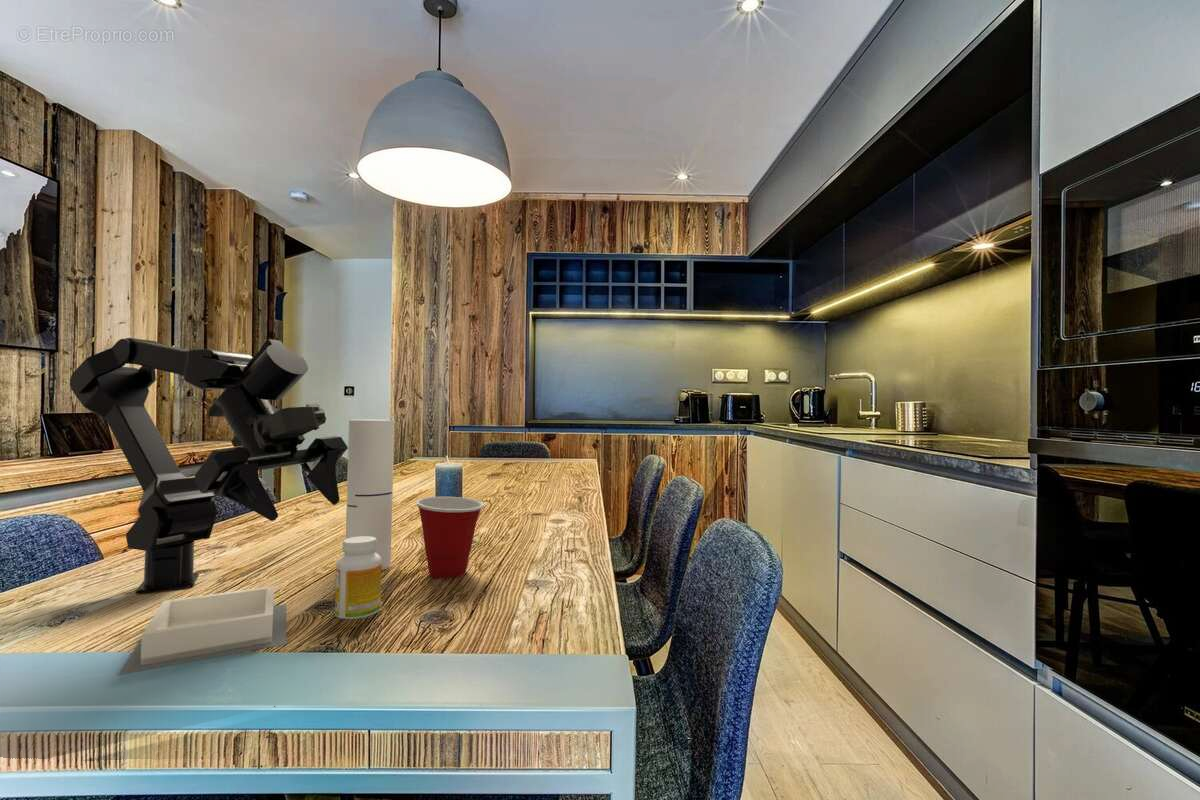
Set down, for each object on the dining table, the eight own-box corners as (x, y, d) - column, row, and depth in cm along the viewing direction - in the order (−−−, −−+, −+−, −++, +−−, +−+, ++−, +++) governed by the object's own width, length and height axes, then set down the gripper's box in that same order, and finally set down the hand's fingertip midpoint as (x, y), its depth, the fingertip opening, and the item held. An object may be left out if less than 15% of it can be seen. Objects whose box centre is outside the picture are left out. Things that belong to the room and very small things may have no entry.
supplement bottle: (389, 610, 70) (391, 536, 70) (358, 625, 65) (360, 545, 65) (357, 604, 71) (359, 533, 72) (324, 619, 66) (327, 541, 67)
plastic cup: (464, 586, 80) (466, 507, 80) (400, 581, 82) (402, 503, 82) (493, 566, 90) (494, 496, 91) (435, 562, 92) (437, 494, 93)
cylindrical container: (379, 574, 85) (383, 420, 86) (336, 573, 85) (340, 419, 86) (397, 561, 92) (401, 420, 93) (357, 561, 93) (361, 419, 93)
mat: (149, 628, 63) (149, 624, 63) (286, 608, 70) (286, 604, 70) (117, 679, 51) (118, 674, 51) (286, 648, 58) (286, 643, 58)
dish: (162, 626, 62) (163, 600, 62) (273, 609, 68) (274, 586, 68) (140, 665, 53) (141, 634, 53) (271, 641, 58) (272, 614, 59)
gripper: (210, 385, 63) (270, 488, 60) (340, 383, 80) (393, 463, 77) (170, 442, 67) (225, 543, 63) (303, 429, 84) (352, 508, 80)
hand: (308, 510), depth 71 cm, fingers open, 9 cm apart
